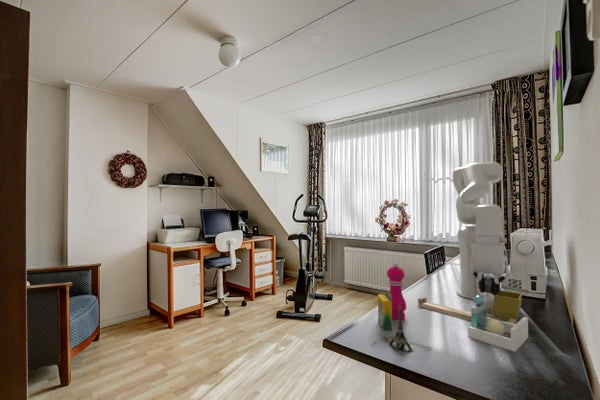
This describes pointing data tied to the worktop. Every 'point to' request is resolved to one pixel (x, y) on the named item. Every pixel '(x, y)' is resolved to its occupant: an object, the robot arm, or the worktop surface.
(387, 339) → the eiffel tower figurine
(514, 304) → the flower pot
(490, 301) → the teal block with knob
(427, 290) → the worktop surface
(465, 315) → the oak rail
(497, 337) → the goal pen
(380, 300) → the crayon box
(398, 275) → the pepper mill
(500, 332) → the ball
